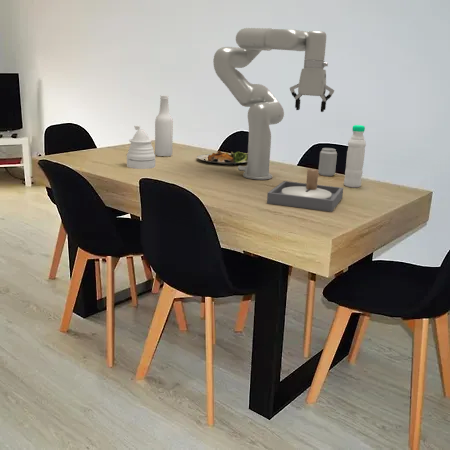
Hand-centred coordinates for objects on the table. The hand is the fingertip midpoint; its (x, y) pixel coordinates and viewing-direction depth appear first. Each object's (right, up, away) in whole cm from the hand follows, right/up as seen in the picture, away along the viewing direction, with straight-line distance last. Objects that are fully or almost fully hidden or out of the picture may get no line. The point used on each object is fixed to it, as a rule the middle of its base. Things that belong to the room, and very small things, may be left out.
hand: (309, 110), depth 215 cm
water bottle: (+20, -29, +14) cm, 37 cm away
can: (+13, -22, +35) cm, 43 cm away
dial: (-4, -34, -15) cm, 37 cm away
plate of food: (-33, -14, +57) cm, 68 cm away
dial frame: (-4, -36, -14) cm, 39 cm away
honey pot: (-72, -18, +36) cm, 82 cm away
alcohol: (-65, -10, +65) cm, 92 cm away
